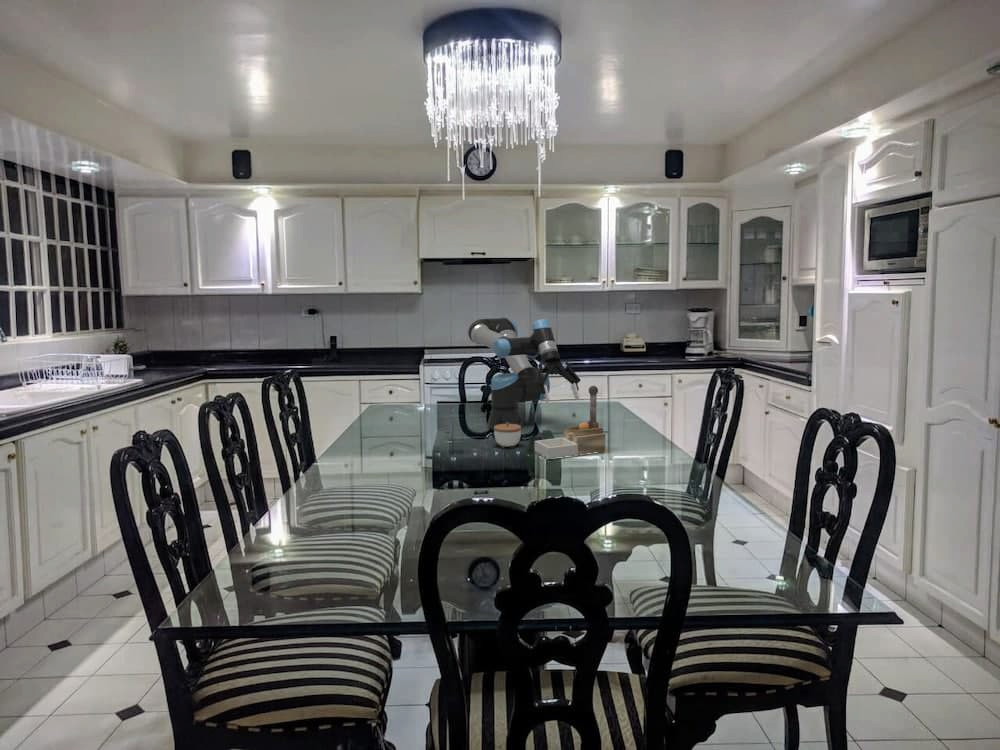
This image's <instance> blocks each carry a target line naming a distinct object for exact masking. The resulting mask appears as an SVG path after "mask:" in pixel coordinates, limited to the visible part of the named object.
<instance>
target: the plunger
mask: <svg viewBox="0 0 1000 750" xmlns="http://www.w3.org/2000/svg"><path fill="white" fill-rule="evenodd" d="M588 393H589V420H588V421H587V424H588V425H589V429H593V428H600V427H599V425H600V424H599V422H597V394H598V393H599V388H598V387H597V386H596V385H591V386H590V387H589V388H588Z"/></svg>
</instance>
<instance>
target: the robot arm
mask: <svg viewBox="0 0 1000 750" xmlns="http://www.w3.org/2000/svg"><path fill="white" fill-rule="evenodd" d="M531 327H532V334H531V336H527V337H526V336H524V337H518V335H519V332H518V331H519V330H518V326H517V324H516V322H515V320H514V319H512V318H510V317H497V318H481V319H477V320H475V321H473V322H472V323H471V324H470V326H469V327H468V329H467V336H468V338H469V339H470V341H471V342H472V343H474V344H476V345H483V346H486V347H488V348H490V349H492V350H493V352H494V354H495V356H497V357H504V358H505V360H506V362H507V364H508V366H509V367H510V369H511V370H512V372H505V373H500V374H496V375H494V376H493V377H492V379H491V380H490V381H491V382H490V383H491V384H490V394H491V395H490V396H491V398H490V399H491V411H490V415H489V417H488V422H487V428H488V429H489V430H492V431H494V426H496V425H499V424H506V422H509V424H517V425H520V426H521V429H522V428H523V420H522V418H521V413H520V411H519V403H527V402H529V403H530V402H537V401H538V402H540V401H543V400H544V401H545V403H549V401H551V397H550V390H551V381H550V378H549V376H554V375H559V376H562V377H563V378H564V379H565V380H566V381H567V382H569V384H571V385H570V387H571V390H572V394H573V397H574V400H575V401H578V400H579V399H580V394H579V391H580V388H579V386H578V384H579V383H580V382H581V378H580V377H579V376H578V374H577V373H576V372H575V371H574V370H573V368H572V367H571V366H570V364H569V362H568V361H566V362H565V363H562V362H561V357H560V353H559V352H558V348H557V347H558V346H557V344H556V340H555V337H554V333H553V330H552V326H551V324H550V322H549V320H548V319H547V318H546V319H545V318H542V319H538V320H535V321H534V322H533V323H532V325H531ZM538 356H540V359H541V362H542V363H539V364H538V365H537V367H534V366H532V365H531V363H530V362H529V359H534V358H536V357H538ZM528 358H529V359H528ZM543 370H545V371H546V372H545V373H543Z"/></svg>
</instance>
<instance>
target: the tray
mask: <svg viewBox="0 0 1000 750" xmlns="http://www.w3.org/2000/svg"><path fill="white" fill-rule="evenodd" d="M535 451H536V452H538V453H540V454H542V455H544V456H546V457H548V458H556V457H565V456H575V455H578V444H576V443H574V442H571V441H569V440H567V439H565V438H563V437H556V438H555V437H554V438H548V439H540V440H534V452H535Z"/></svg>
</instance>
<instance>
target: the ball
mask: <svg viewBox="0 0 1000 750" xmlns="http://www.w3.org/2000/svg"><path fill="white" fill-rule="evenodd" d="M578 426H579V430H585V429H589V425H588V422H587V423H586V422H581V423H579V425H578Z"/></svg>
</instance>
